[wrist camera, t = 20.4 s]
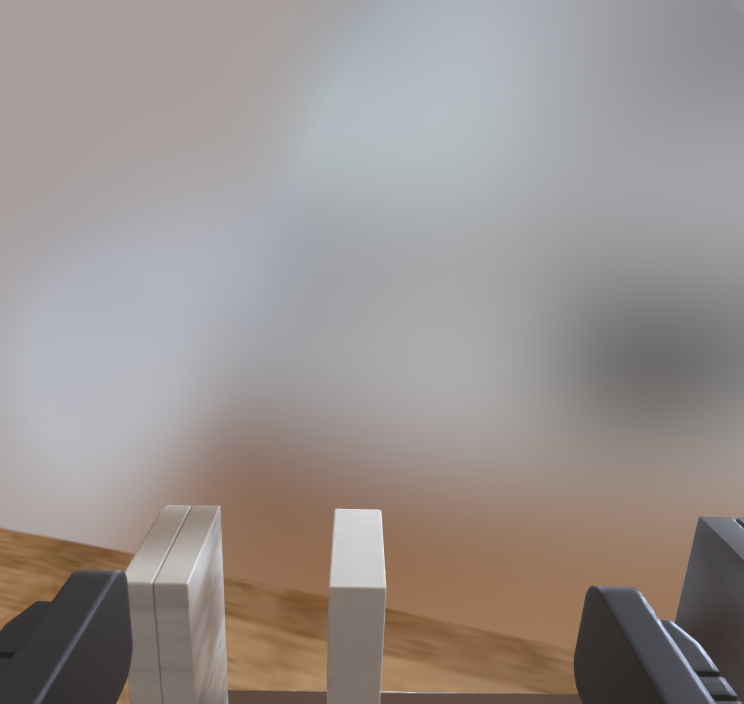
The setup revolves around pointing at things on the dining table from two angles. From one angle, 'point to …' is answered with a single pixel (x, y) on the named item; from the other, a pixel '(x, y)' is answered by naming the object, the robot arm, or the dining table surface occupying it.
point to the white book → (356, 608)
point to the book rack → (213, 699)
